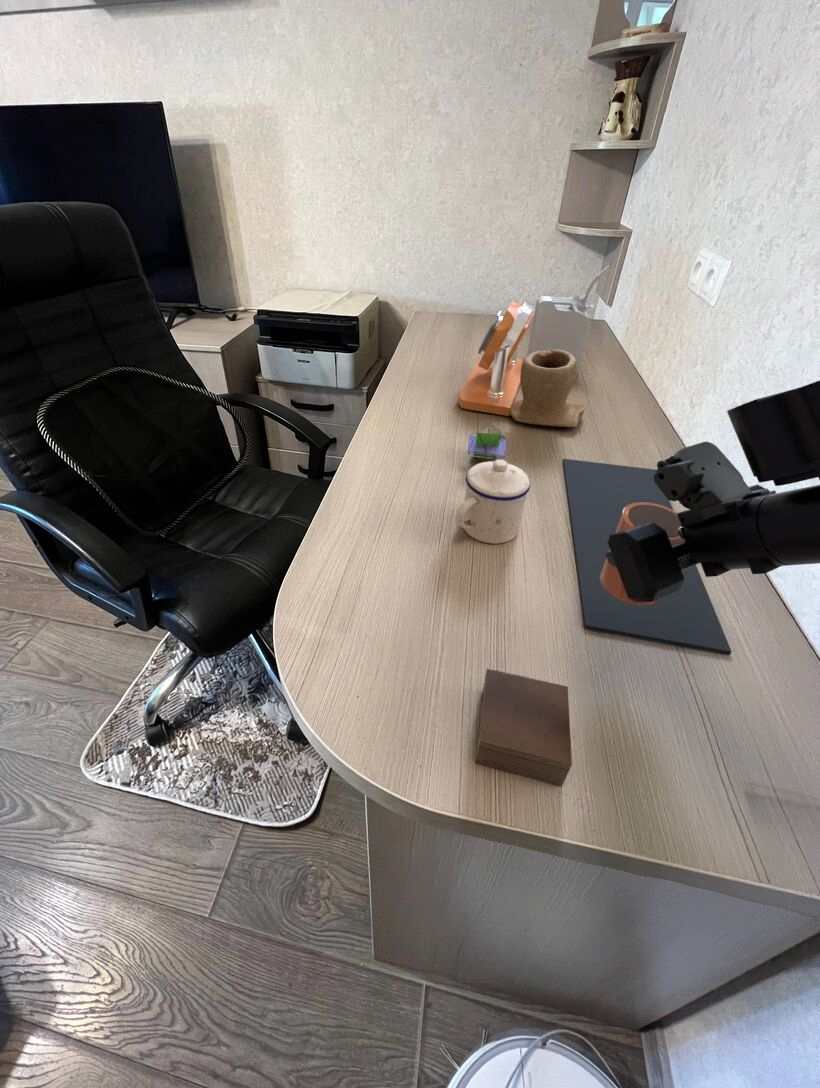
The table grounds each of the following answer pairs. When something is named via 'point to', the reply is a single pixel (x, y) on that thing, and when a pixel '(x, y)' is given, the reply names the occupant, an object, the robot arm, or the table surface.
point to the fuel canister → (562, 323)
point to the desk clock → (498, 363)
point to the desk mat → (593, 519)
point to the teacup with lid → (493, 501)
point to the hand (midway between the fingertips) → (630, 549)
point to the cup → (632, 518)
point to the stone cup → (547, 390)
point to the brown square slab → (525, 727)
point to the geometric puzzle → (487, 443)
